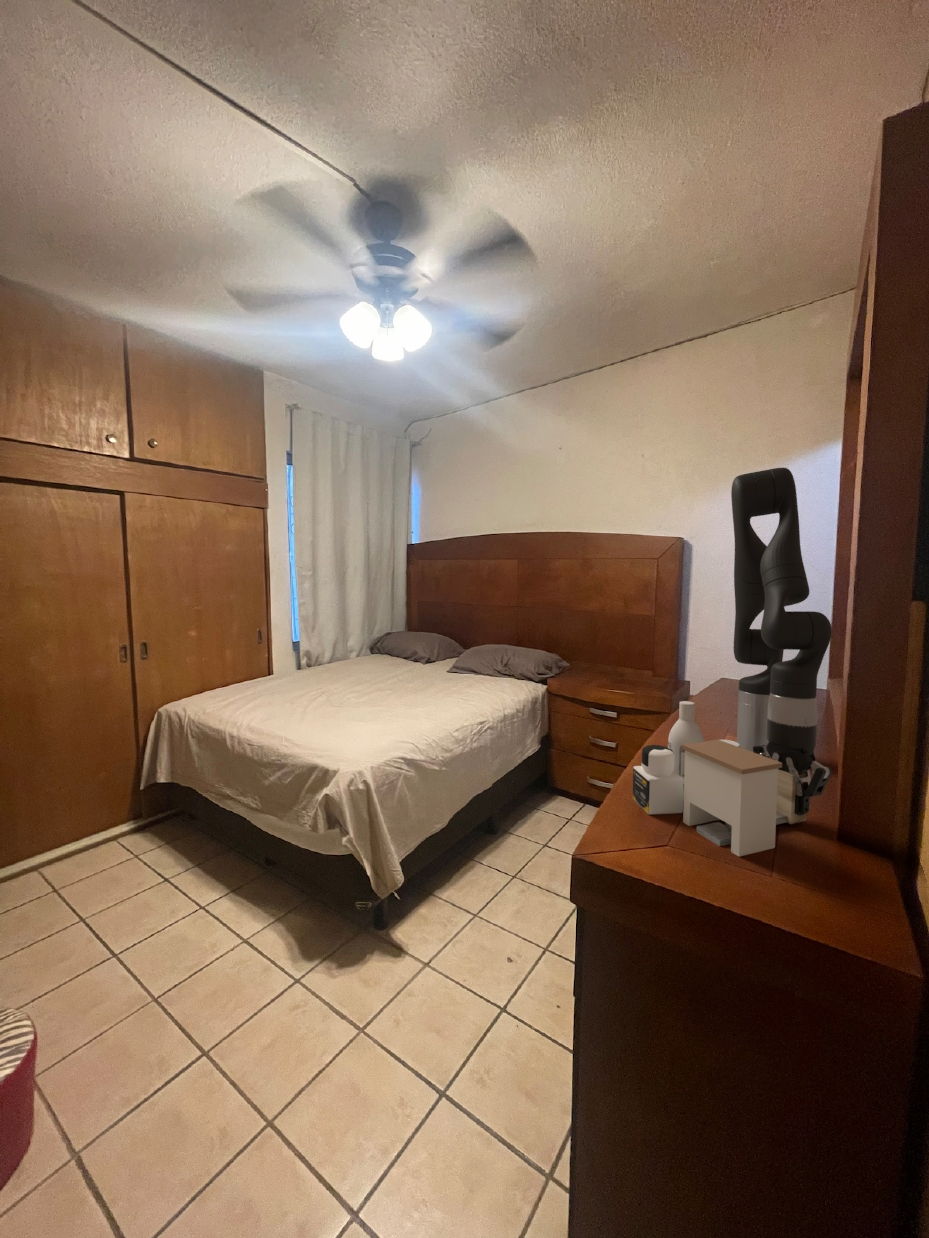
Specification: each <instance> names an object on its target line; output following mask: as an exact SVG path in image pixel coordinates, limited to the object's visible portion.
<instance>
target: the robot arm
mask: <svg viewBox="0 0 929 1238" xmlns="http://www.w3.org/2000/svg"><path fill="white" fill-rule="evenodd" d="M796 486H797V485H796V482H795V478H794V474H793V473H792V471H791V470H790V469H789V468H788V467H775V468H770V469H764V470H758V471H753V472H748V473H744V474H743V473H742V474H739V475H737V476H735V478H733V480H732V484H731V489H730V491H731V497H730V498H731V509H732V511H731V512H732V521H733V524H732V525H733V534H734V565H733V567H734V568H733V589H734V608H735V609H734V610H735V612H734V613H735V616H734V618H735V619H734V630H733V631H734V632H733V633H734V634H733V655H734V659H735V660H736V662H737V663H739V664H744V665H753V666H754V665H755V666H766V669H765V670H764V671H762V672H761V671H760V672H759V673H757V674H753V675H749V676H744V677H741V678H740V679H739V681H738V695H737V696H738V698H737V701H738V704H737V725H736V726H737V731H736V742H737V743H739V744H740V748H743V749H746V750H748V751H751V752H754V753H756V754H759V755H762V756H765V757H767V758H770V759H773V760H776V761H778V762H781V763H782V768H778V769H781V770H784V771H786V772H789V773H790V775H794V782H795V791H796V794H797V795H795V814H797V815H799V816H800V815H805V814H806V815H807V813H809V811H810V799H811V798H812V797H816V796H822V794H823V793H824V791H825V789H826V787H827V784H828V782H829V780H830V778H831V776H832V773H833V772H834V771H833V768H832V766H828V765H827V766H824V765H823V764H821V763H820V762H818V761H817V758H816V755H815V753H814V752H815V748H816V745H817V731H818V730H817V729H818V728H817V726H818V725H817V724H818V705H817V688H818V685H817V684H818V674H819V670H820V669H821V667H822V666H821V665H822V663H823V660H824V656H825V654H826V652H827V650H828V649H829V645H830V642H831V639H832V636H833V635H832V633H833V629H832V624H831V622H830V621H831V620H830V619H829V618H828V617H827V615H825V614H823V613H822V612H819V611H810V610H809V611H807V610H806V611H804V610H803V611H797V610H796V611H794V610H793V611H789V610H788V611H786V610H785V607H789V606H793V605H797V604H800V603H802V602H804V601H806V600H807V599H808V597H809V596H810V587H809V582H808V578H807V573H806V570H805V569H806V568H805V565H804V562H803V561H804V560H803V557H802V549H801V536H800V535H801V534H800V531H801V530H800V519H799V506H798V497H797V495H798V494H797V487H796ZM773 514H774V515H775V514H778V515H779V516H778V517H779V518H778V519H779V520H778V524H777V528H776V529H775V532H774V534H773V536H772V537H771V539H770V541H769V543H768V544H767V545H766V543H764V542H763V541H762V540H761V538H760V537H759V536H758V534H757V532H756V531H755V529H754V527H753V526H752V523H751V519H752V518H753V517H755V518H756V517H760V516H767V515H773ZM762 612H763V613H762ZM761 613H762V614H763V615H762V620H761V621H762V622H761V627H760V628H751V627H752V624H753V622H754V621H755V619H756V618H757V617H758V616H759V615H760V614H761ZM785 650H791V651H792V650H795V651H798V652H797V654H796V655H795V657H793V658H792V659H789V660H783V658H784V651H785ZM810 769H812V770H811V771H810ZM804 773H805V776H804V777H800V778H799V775H802V774H804ZM811 775H812V777H811ZM802 783H803V786H802Z"/></svg>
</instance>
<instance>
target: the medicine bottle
mask: <svg viewBox="0 0 929 1238" xmlns="http://www.w3.org/2000/svg"><path fill="white" fill-rule="evenodd" d="M632 799H633V800H634V802H636V804H637V805H638V806H639V807H640V808H641V809H642V810H643V811H644V812H645V813H646V814H647V815H652V816H653V815H669V814H670V815H671V814H683V808H684V801H683V778H682V777H681V776H679V775H678V774H677V773H675V772H674V752H673V751H672V750H671V749H669V748H668V746H664V745H659V744H651V745H645V746H644V747H642V748H641V765H634V766H633V767H632Z"/></svg>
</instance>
